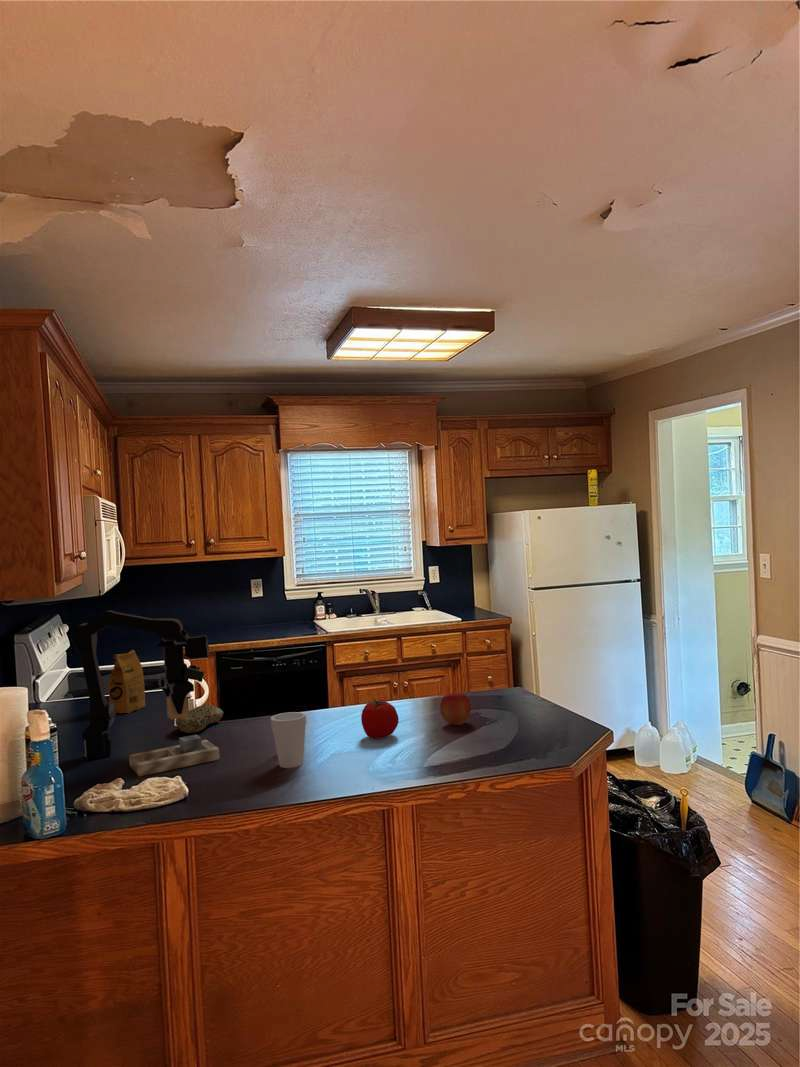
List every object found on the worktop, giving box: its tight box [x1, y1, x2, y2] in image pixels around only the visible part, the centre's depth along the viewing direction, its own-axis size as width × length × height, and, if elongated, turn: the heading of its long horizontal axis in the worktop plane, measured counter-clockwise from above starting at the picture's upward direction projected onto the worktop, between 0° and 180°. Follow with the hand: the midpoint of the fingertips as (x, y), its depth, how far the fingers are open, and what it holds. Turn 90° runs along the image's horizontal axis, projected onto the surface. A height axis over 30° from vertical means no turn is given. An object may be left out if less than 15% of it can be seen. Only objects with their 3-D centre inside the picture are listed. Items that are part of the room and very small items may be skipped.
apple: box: [439, 691, 472, 726], centre depth 236 cm, size 10×10×10 cm
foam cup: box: [270, 711, 307, 769], centre depth 205 cm, size 10×9×13 cm
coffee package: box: [107, 649, 146, 715], centre depth 286 cm, size 10×12×22 cm
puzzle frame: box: [128, 734, 221, 777], centre depth 214 cm, size 22×12×6 cm, turn 121°
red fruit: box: [360, 698, 399, 739], centre depth 226 cm, size 12×12×11 cm
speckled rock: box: [175, 704, 224, 734], centre depth 251 cm, size 13×8×20 cm
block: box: [165, 695, 189, 721], centre depth 229 cm, size 5×5×6 cm
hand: (177, 712), depth 229 cm, fingers closed on block, 5 cm apart
